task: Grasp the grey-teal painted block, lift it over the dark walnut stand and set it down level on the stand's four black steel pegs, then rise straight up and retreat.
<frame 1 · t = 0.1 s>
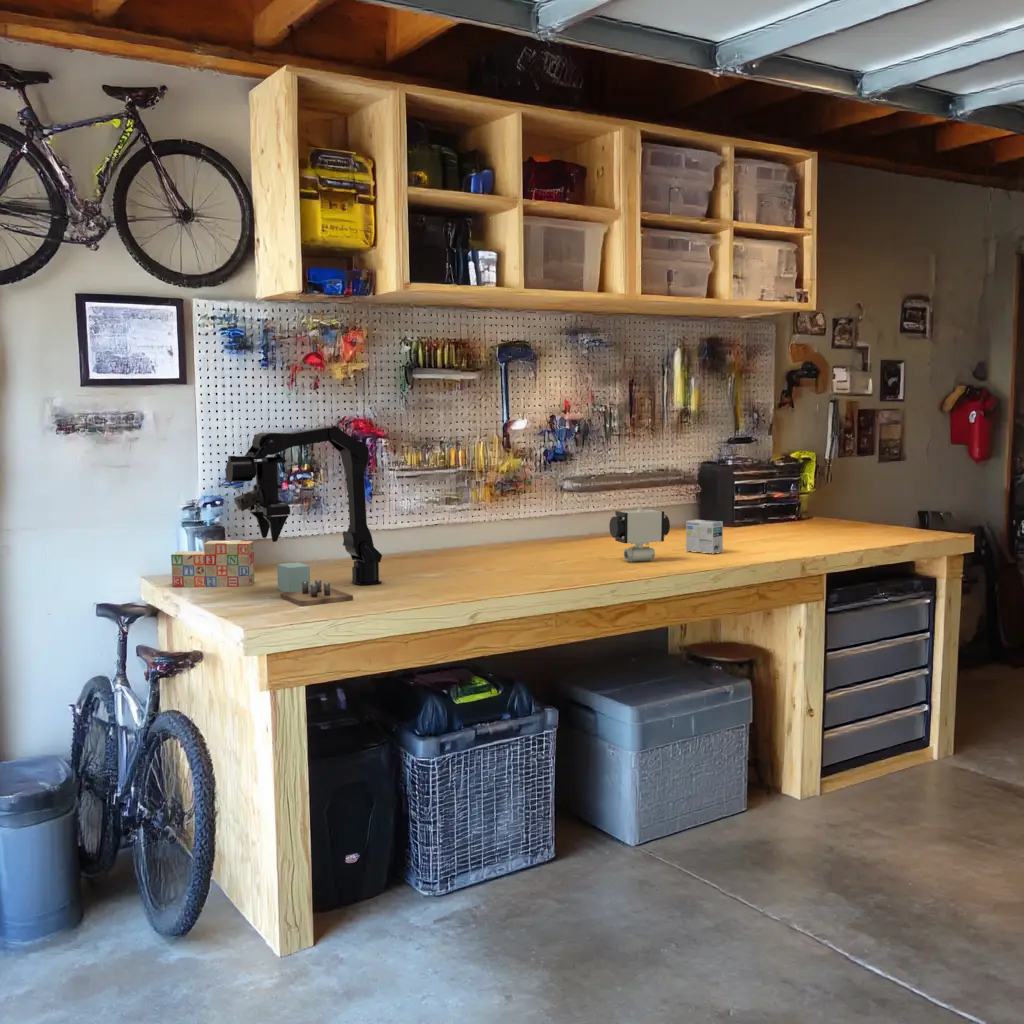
hand: (269, 539, 267), 14 cm above the table, fingers open, 9 cm apart
ball valve: (638, 561, 323), on the table
light bulb box: (704, 553, 342), on the table
stack of blocks: (213, 586, 282), on the table
teal block: (294, 590, 273), on the table
peg stand: (316, 598, 261), on the table
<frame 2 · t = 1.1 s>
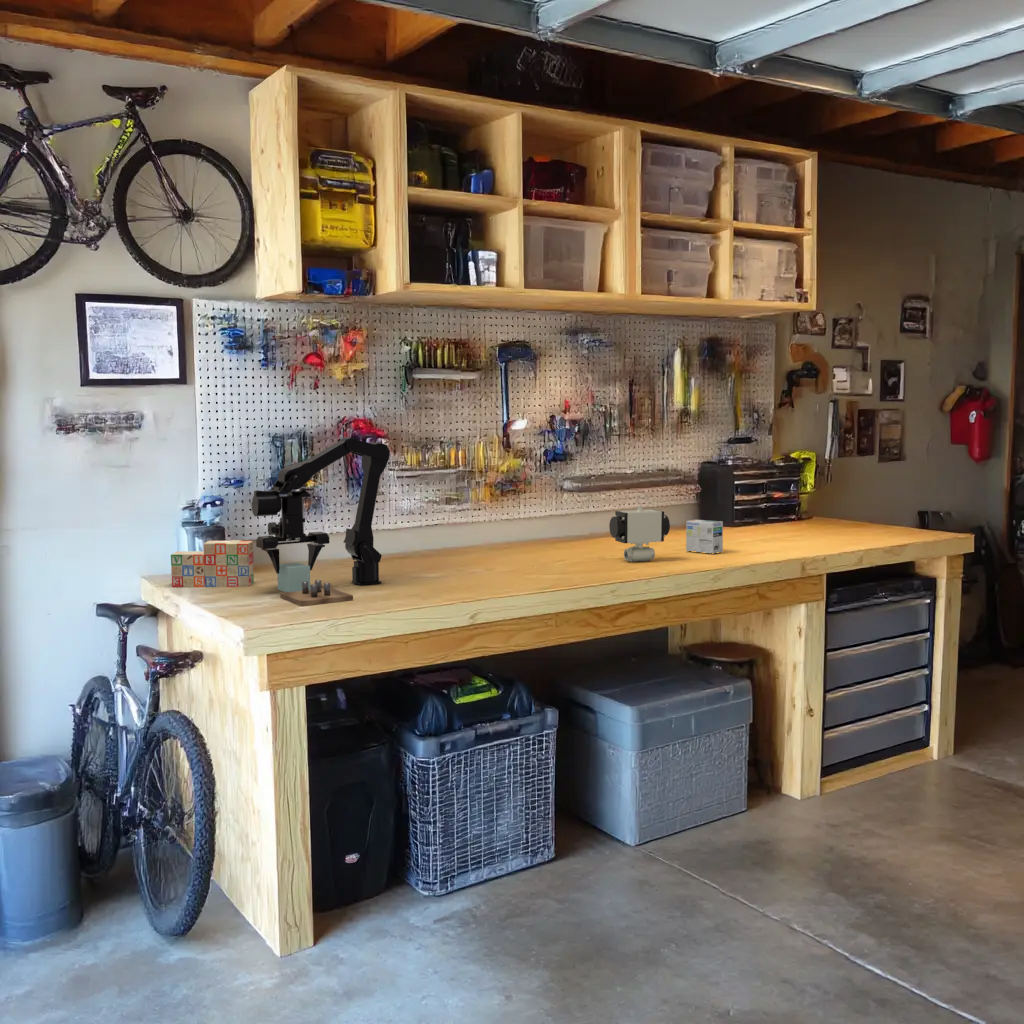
hand: (294, 572, 273), 5 cm above the table, fingers open, 9 cm apart
nothing on the table moved.
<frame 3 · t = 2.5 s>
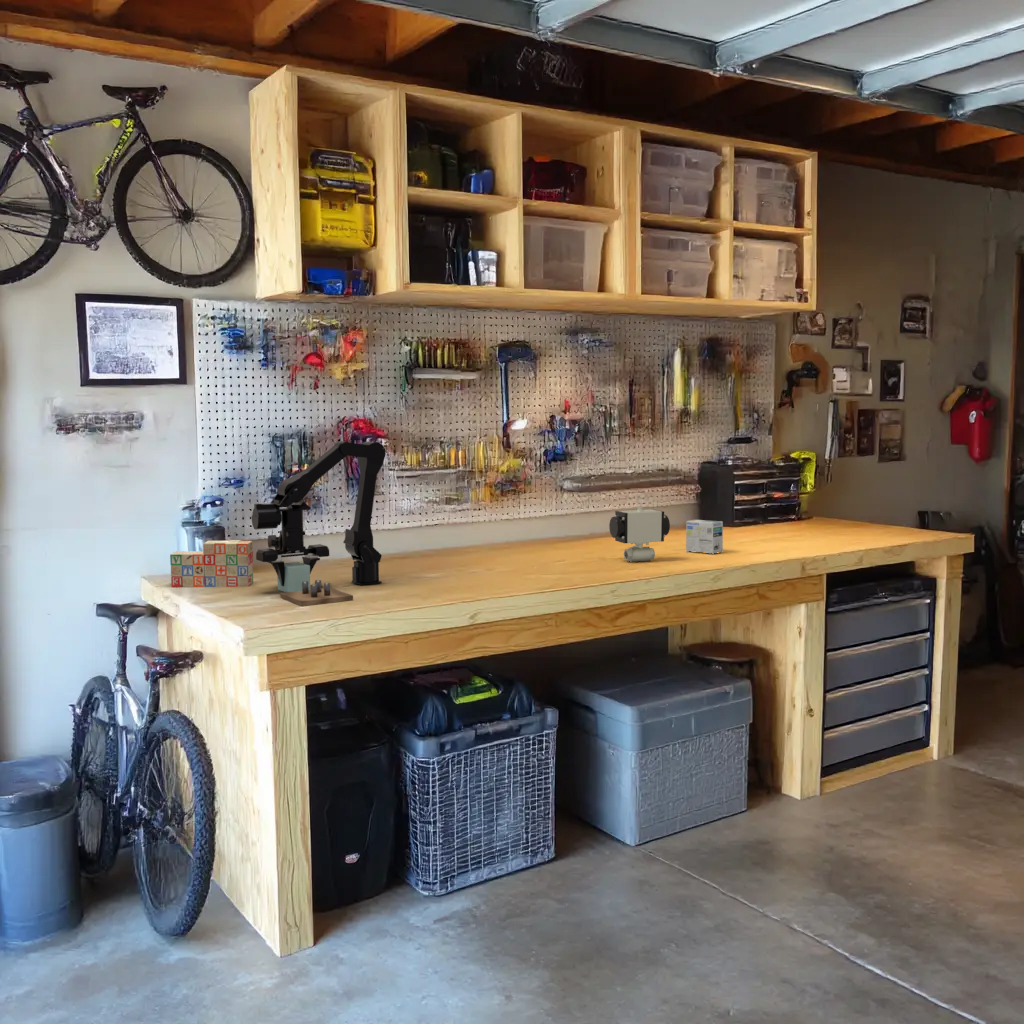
hand: (293, 584, 273), 2 cm above the table, fingers closed on teal block, 6 cm apart
teal block: (294, 590, 273), on the table, touching gripper
everything else where it was.
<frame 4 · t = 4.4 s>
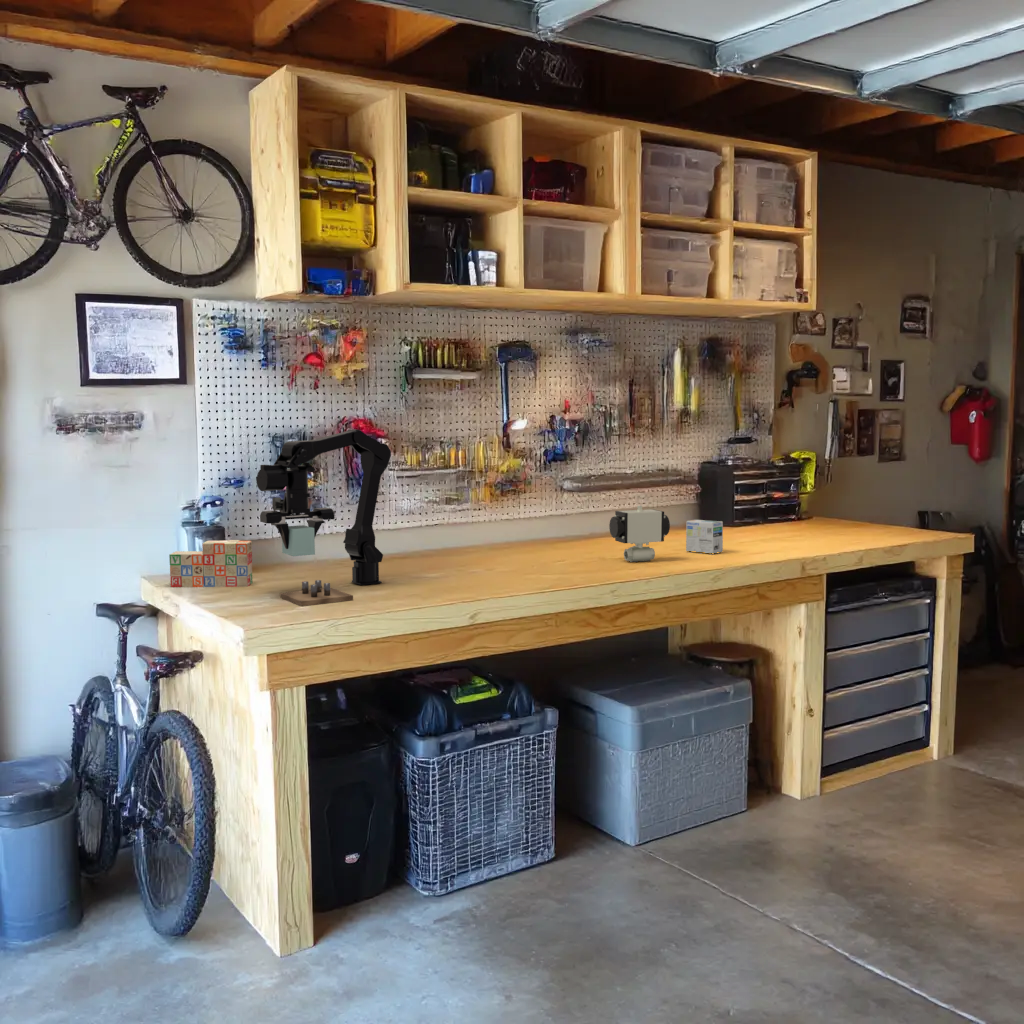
hand: (298, 547, 269), 12 cm above the table, fingers closed on teal block, 6 cm apart
teal block: (298, 553, 269), point 10 cm above the table, touching gripper
everything else where it was.
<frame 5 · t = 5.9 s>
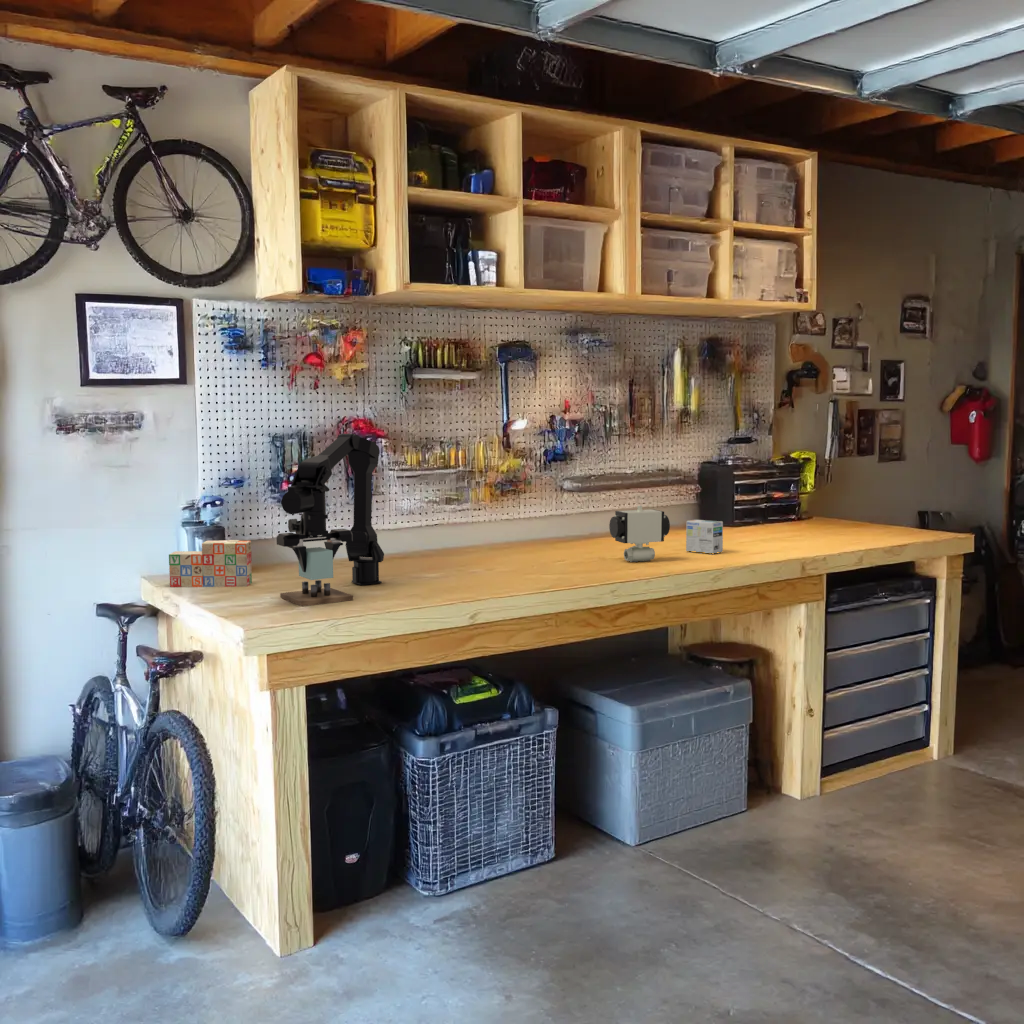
hand: (315, 570, 260), 7 cm above the table, fingers closed on teal block, 6 cm apart
teal block: (316, 576, 260), point 6 cm above the table, touching gripper
everything else where it was.
when the fingers open (7 cm above the table, at t = 6.8 s): teal block drops 1 cm, resting on peg stand.
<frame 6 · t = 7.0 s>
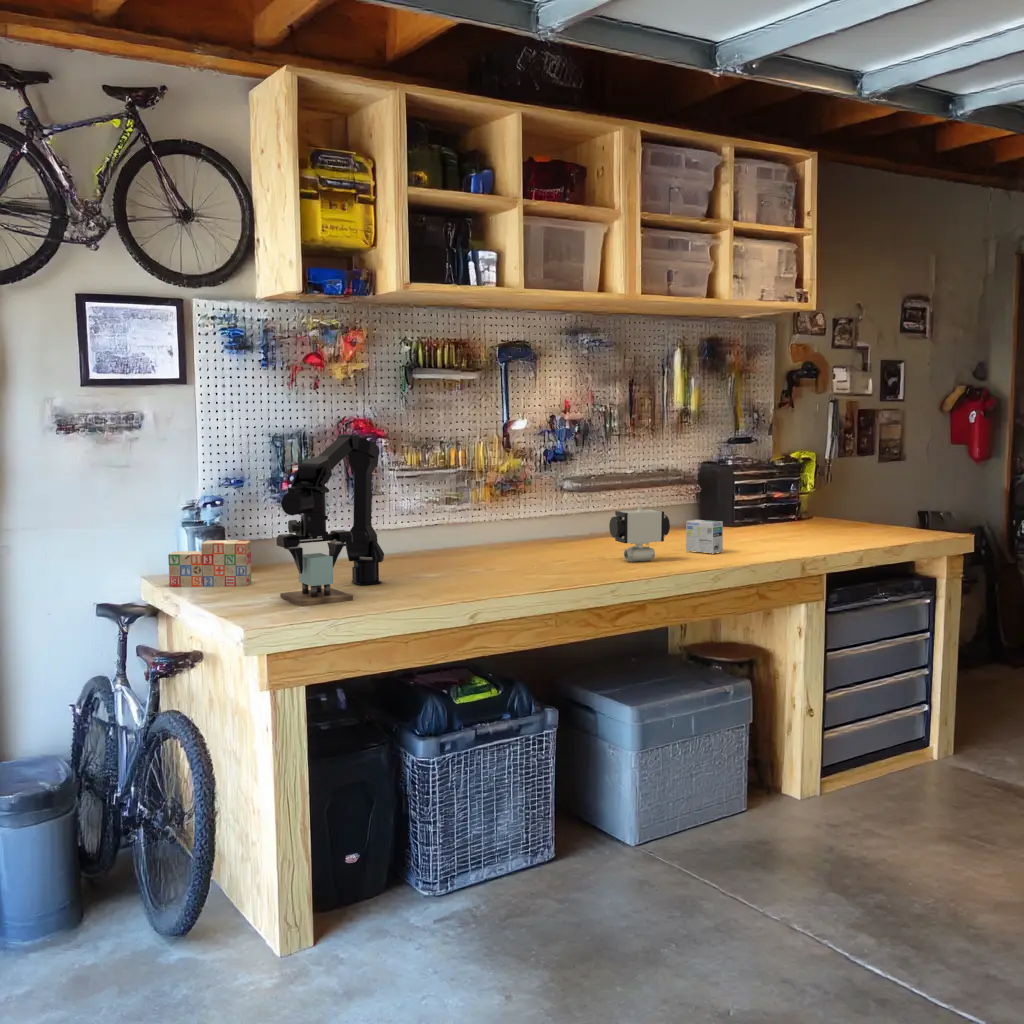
hand: (315, 571, 260), 7 cm above the table, fingers open, 8 cm apart
teal block: (316, 582, 260), point 4 cm above the table, touching peg stand
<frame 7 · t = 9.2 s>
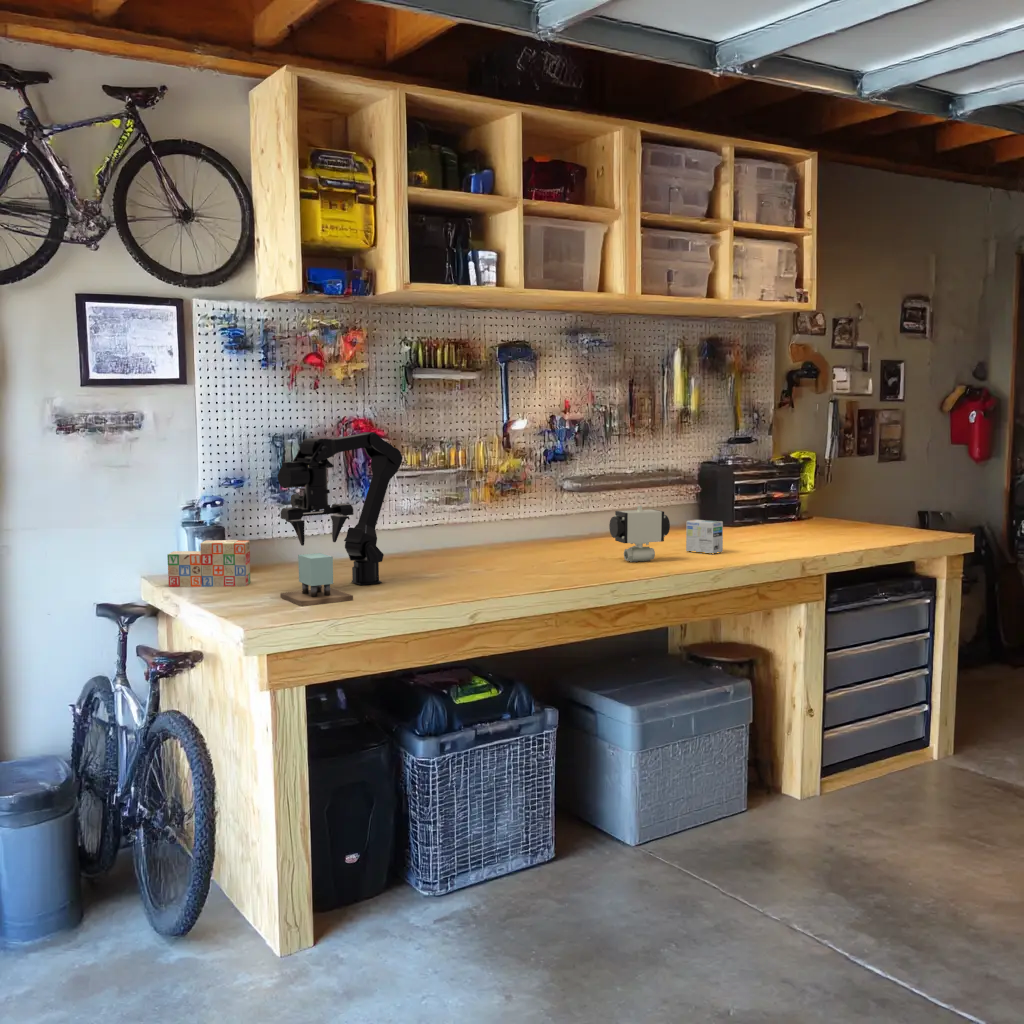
hand: (318, 543, 271), 13 cm above the table, fingers open, 9 cm apart
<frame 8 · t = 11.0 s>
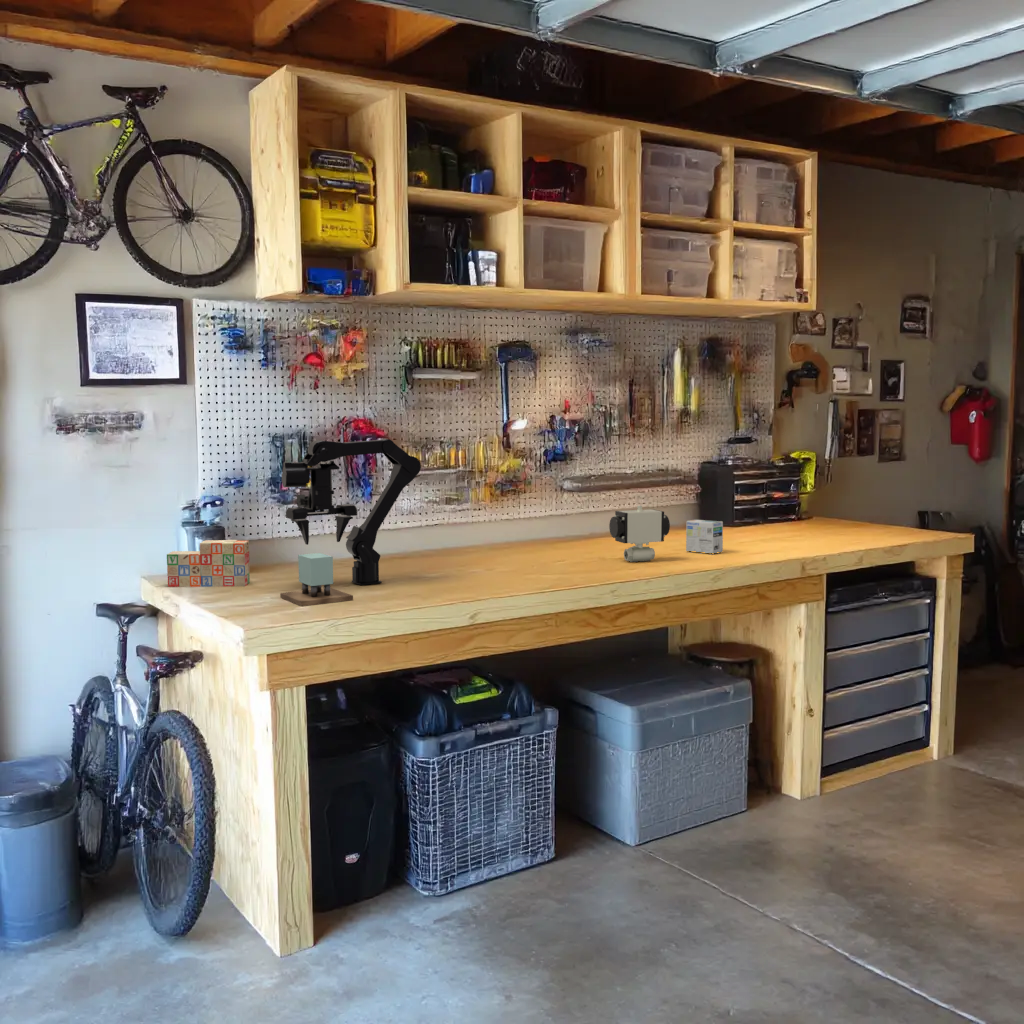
hand: (322, 543, 278), 12 cm above the table, fingers open, 9 cm apart
at the end: teal block 0.1 cm off-centre on the peg stand, point 4.2 cm above the peg stand's base; teal block tilted 0°; the gripper is holding nothing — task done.
